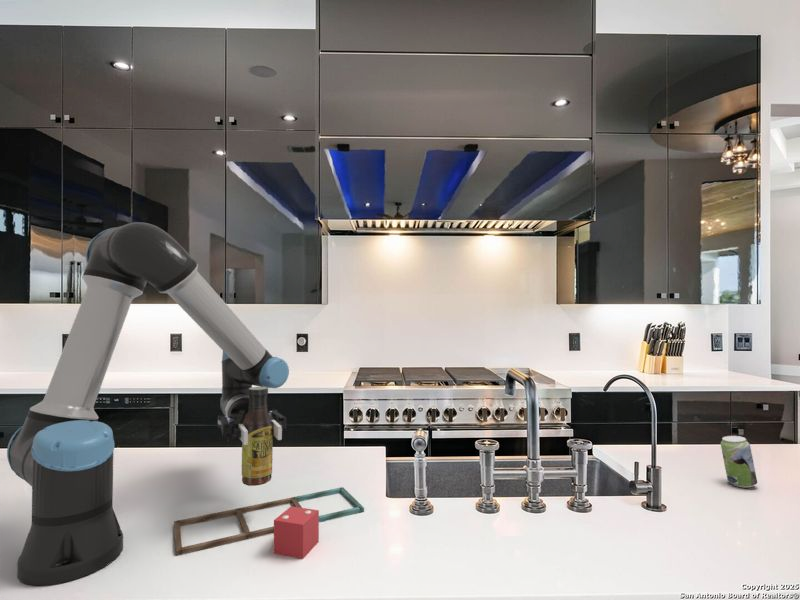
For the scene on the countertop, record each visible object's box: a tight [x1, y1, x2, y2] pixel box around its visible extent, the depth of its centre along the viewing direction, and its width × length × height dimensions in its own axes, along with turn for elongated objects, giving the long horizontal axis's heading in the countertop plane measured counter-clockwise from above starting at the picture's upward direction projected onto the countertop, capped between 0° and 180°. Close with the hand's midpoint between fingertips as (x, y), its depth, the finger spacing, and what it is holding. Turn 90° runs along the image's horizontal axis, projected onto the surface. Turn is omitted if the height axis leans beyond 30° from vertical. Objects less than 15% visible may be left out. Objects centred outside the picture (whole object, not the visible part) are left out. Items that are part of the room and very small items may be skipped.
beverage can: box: [720, 435, 758, 489], centre depth 112 cm, size 6×7×12 cm
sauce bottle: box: [241, 386, 274, 487], centre depth 95 cm, size 6×6×20 cm
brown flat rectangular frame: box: [173, 486, 365, 556], centre depth 95 cm, size 37×13×1 cm, turn 118°
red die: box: [273, 505, 320, 559], centre depth 83 cm, size 6×6×6 cm
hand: (263, 435), depth 91 cm, fingers closed on sauce bottle, 6 cm apart
